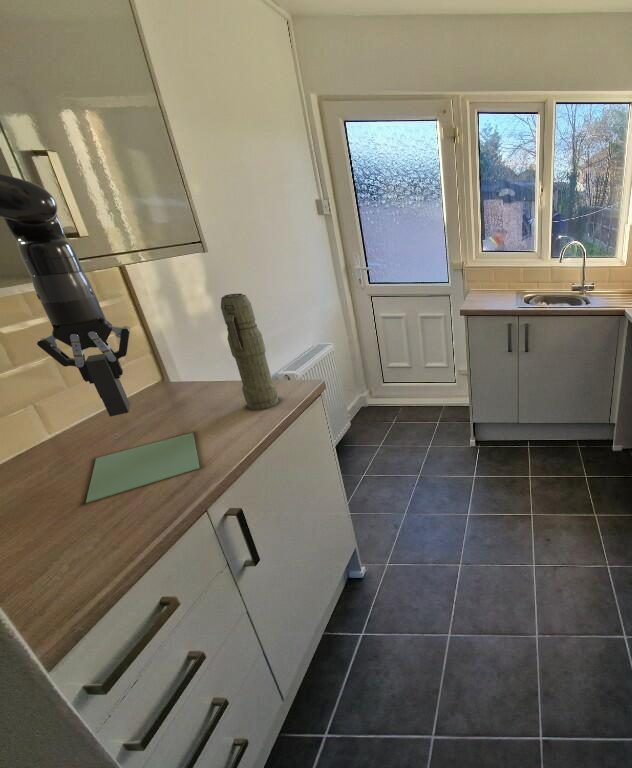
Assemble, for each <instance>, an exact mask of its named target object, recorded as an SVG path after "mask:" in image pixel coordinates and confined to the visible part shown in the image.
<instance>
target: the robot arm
mask: <svg viewBox="0 0 632 768" xmlns="http://www.w3.org/2000/svg"><path fill="white" fill-rule="evenodd" d="M57 213H58V204H57V201H56V200H55V198H54V196H53V195H52V194H51V193H50V192H49V191H48V190H47V189H45V188H44V187H43V186H41V185H39V184H37V183H34V182H32V181H29V180H25V179H22V178H18V177H15V176H10V175H8V174H4V173H0V217H1V218H2V219H3V220H4V223H5V224H6V226H7V229H9V232H10V234H11V235H12V236H13V239H14V240H15V242H16V244H17V248H18V252H19V255H20V257H21V259H22V262H23V264H24V266H25V268H26V270H27V272H28V274H29V275H30V278H31V282H32V285H33V289H34V291H35V293H36V297H37V299H38V300H39V301H40V304H41V305H42V308H43V309H44V312H45V313H46V316H47V318H48V320H49V322H50V325H51V326H52V332H51V334H50V335H48V336H46V337H42V338H40V339H39V340H38V341H37V342H36V346H38V347H39V348H40V349H42V350H43V351H44V352H45V353H46V354H48V355H49V356H50V357H52V358H53V359H54V360H55V361H56V362H57V363H59V364H60V365H61V366H62V367H65V368H66V367H75V368H77V369H78V371H79V373H80V375H81V378H82V379H83V381H84V382H85V383H87V382H88V383H89V384H90V385H92V384H94V383H93V381H92V379H91V377H90V375H89V372H88V368H87V366H86V364H85V362H86V360H87V359H86V354H85V352H86V351H85V350H88V349H90V348H93V349H94V348H98V350H99V351H100V352H101V354H104V355H105V356H106V358H107V359H108V360H109V365H110V367H111V370H112V372H113V374H114V377H115V379H118V378H119V379H121V377H122V376H123V374H124V370H123V369H124V368H123V367H122V364H121V362H120V359H121V358H124V357H126V356H127V354H128V347H129V340H130V332H131V328H130V327H129V326H126V325H125V326H117V325H113V324H112V323H111V322H109V321H108V319H106V316H105V314H104V312H103V311H104V310H103V309H102V307H101V304H100V303H99V299H98V298H97V295H96V293H95V290H94V288H93V286H92V283H91V282H90V279H89V278H88V277H87V275H86V273H85V271H84V270H83V266H82V264H81V262H80V260H79V258H78V257H79V256H78V254H77V252H76V250H75V249H74V247H73V245H72V244H71V243H70V241H69V240H68V239H67V237H66V234H65V231H64V229H63V226H62V223H61V222H60V219H59V216H58V214H57ZM112 332H113V333H114V334H115V337H116V338H119V346H118V350H116V351H114V349H113V348H112V346H111V344H110V343H109V342H108V339H109V338H110V335H111V333H112ZM57 340H58V341H60V342H62V343H63V344H65V345H67V346H69V347H70V348H71V350H72V355H73V357H70V356H69V355H68V354H66V353H65V352H64V351H63V350H62V349H60V348H59V347H58V345H59V343H58V341H57Z"/></svg>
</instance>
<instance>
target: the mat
mask: <svg viewBox="0 0 632 768" xmlns="http://www.w3.org/2000/svg"><path fill="white" fill-rule="evenodd" d="M199 469H201V467H200V461H199V456H198V451H197V445H196V440H195V434H194V432H189V433H186V434H182V435H178V436H175V437H170V438H166V439H162V440H160V441H156V442H152V443H147V444H144V445H140V446H137V447H133V448H129V449H126V450H125V449H124V450H122V451H118V452H114V453H110V454H106V455H103V456H98V457H96V458H95V461H94V465H93V470H92V474H91V478H90V482H89V486H88V491H87V496H86V499H85V504H89V503H92V502H96V501H99V500H102V499H105V498H109V497H111V496H116V495H118V494H121V493H124V492H128V491H132V490H134V489H137V488H140V487H144V486H148V485H151V484H154V483H157V482H161V481H164V480H168V479H170V478H173V477H177V476H180V475H183V474H187V473H189V472H193V471H196V470H199Z"/></svg>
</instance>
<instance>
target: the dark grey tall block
mask: <svg viewBox="0 0 632 768" xmlns="http://www.w3.org/2000/svg"><path fill="white" fill-rule="evenodd" d="M85 360H86V362H85V364H86V366H87V368H88V372H89V375H90V377H91V379H92V381H93V383H92V384H93V385H94V387H95V389H96V392H97V394H98V396H99V399H101V400H102V403H103V405H104V407H105V409H106V412H107V413H108V416H109V417H110V418H111V417H114V416H115V417H116V416H119V415H124V414H128V413H129V412H130V408H131V407H130V406H131V403H130V400H129V398H128V396H127V394H126V391H125V389H124V387H123V385H122V384H123V383H122V382H121V380H120V378H118V379H115V377H114V374H113V372H112V370H111V367H110V365H109V360H108V359H107V358H106V356H105V355H104V354H103V353H99V354H97V353H96V354H92V355H88V356H87V358H86V359H85Z"/></svg>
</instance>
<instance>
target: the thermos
mask: <svg viewBox="0 0 632 768" xmlns="http://www.w3.org/2000/svg"><path fill="white" fill-rule="evenodd" d="M220 310H221V313H222V314H221V315H222V317H223V320H224V323H225V325H226V331H227V342H228V347H229V349H230V352H231V355H232V357H233V359H234V360H235V362H236V366H237V371H238V373H239V376H240V379H241V383H242V394H243V397H244V400H245V403H246V404H247V408H248V410H251V411H261V410H266V409H269V408H272V407H274V406H276V405H277V404H278V403H279V402H280V400H279V398H278V390H277V387H276V383H275V381H274V380H273V379H272V375H271V373H270V368H269V364H268V361H267V356H266V346H265V343H264V339H263V335H262V332H261V330H260V329H259V327H258V324H257V323H256V317H255V313H254V308H253V305H252V303H251V301H250V299H249V298H248V296H247V295H246V294H243V293H229V294H225V295H223V296H222V297H221V298H220Z"/></svg>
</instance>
